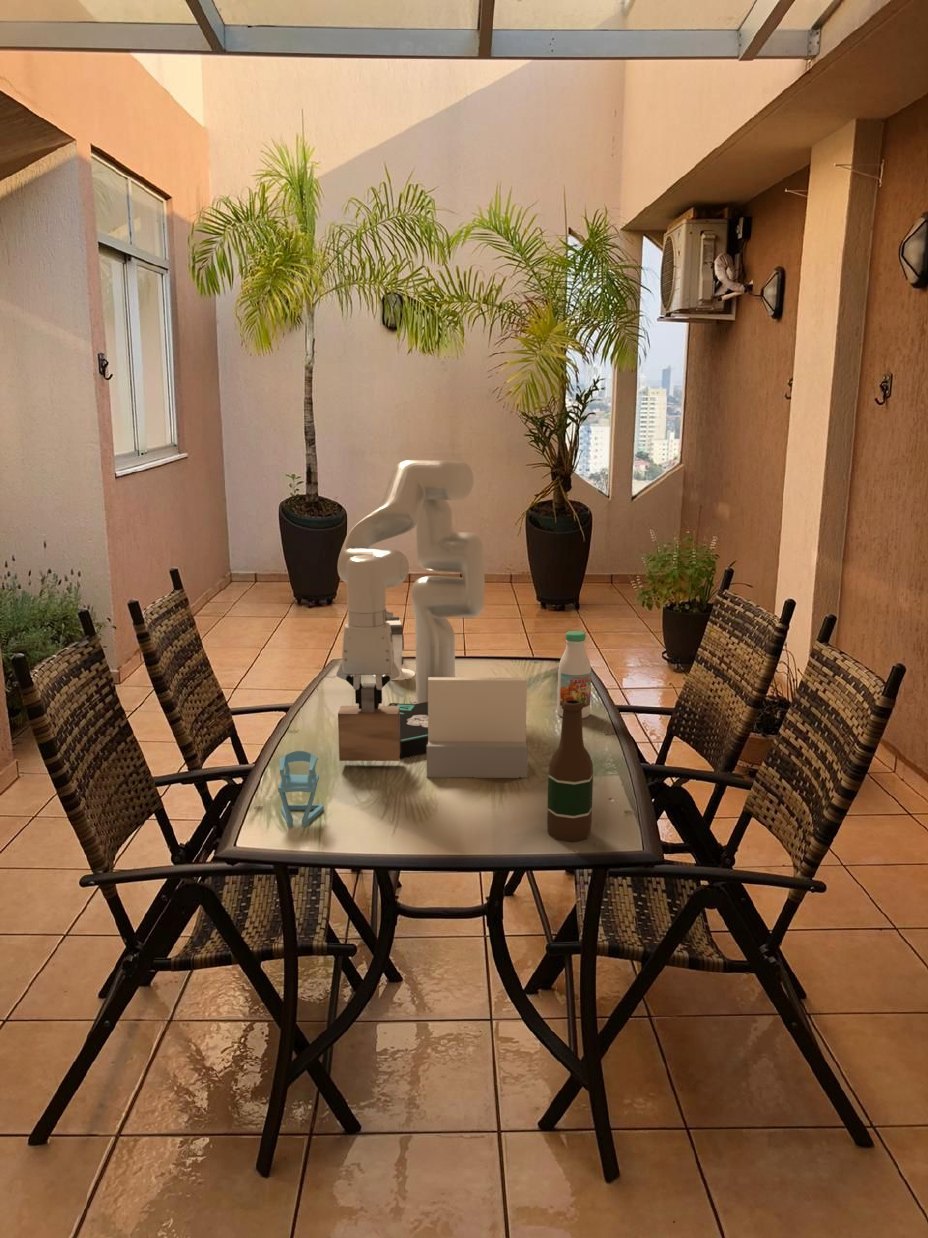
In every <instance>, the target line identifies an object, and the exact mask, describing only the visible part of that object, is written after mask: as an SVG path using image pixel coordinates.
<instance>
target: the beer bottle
mask: <svg viewBox="0 0 928 1238" xmlns="http://www.w3.org/2000/svg"><path fill="white" fill-rule="evenodd" d="M561 708H562V709H563V717H562V718H561V732H560V733H561V734H560V740H559V745H558V748H557V749H556V750H555V751H554V753H553V755H552V757H551V760H550V761H549V765H548V774H547V775H548V776H547V812H546V813H547V814H546V815H547V818H546V819H547V821H546V824H547V833H548V834H549V836H551V837H553V839H555V840H557V841H563V842H570V843H576V842H579V841H584V840H587V838H588V837H589V835H590V833H591V831H592V822H593V821H592V819H593V816H592V815H593V791H594V790H593V789H594V785H593V784H594V767H593V764H594V763H593V761H592V757H591V754H590V753H589V752H588V750H587V749H586V747H585V743H584V739H583V738H584V736H583V735H584V734H583V718H582V709H583V703H582V702H580V701H578V700H573V699H571V700H565V701H564V702H563V704H562V707H561Z"/></svg>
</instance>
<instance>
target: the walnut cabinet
mask: <svg viewBox="0 0 928 1238" xmlns="http://www.w3.org/2000/svg"><path fill="white" fill-rule="evenodd" d="M375 685H376V682H370V683H369V682H368V683H367V682H363V683H362V688H361V698H362V709H359V705H340V707H339V710H338V712H337V722H338V723H337V726H338V727H337V729H338V730H337V731H338V759H339V762H346V761H349V762H356V761H357V762H390V761H391V762H399V761H400V758H399V757H400V706H388V705H379V707H378V709H375V708H374V689H375Z"/></svg>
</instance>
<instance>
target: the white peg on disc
mask: <svg viewBox="0 0 928 1238" xmlns="http://www.w3.org/2000/svg"><path fill="white" fill-rule="evenodd" d="M386 623H389V624H390V627H391V632H392V639H393V652H394V662H395V664H396V666H397V668H398V670H399V672H400V675H399V677H397V678H395V679H392V680H399V681H406V680H410V679H412V678H414V677H416V671H414V670H411V669H409V668H403V666H404V656H403V650H405V646H404V645H405V639H404V638H405V637H404V633H403V624H402V623H401V620H400V616H393V619H389V620H387V621H386ZM372 676H374V677H373V678H374V679H376V677H375V675H372ZM384 676H385V675H383V677H384ZM405 679H406V680H405Z"/></svg>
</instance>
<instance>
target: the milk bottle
mask: <svg viewBox="0 0 928 1238" xmlns="http://www.w3.org/2000/svg"><path fill="white" fill-rule="evenodd" d="M586 635H587V634H586V633H585V632H584V631H580V630H570V631H569V630H568V631H567V632H566V633H565V642H566V645H565V649H564V652H563V654H562V656H561V658H560V661H559V663H558V664H559V665H558V671H557V672H558V673H557V701H556V702H557V704H556V705H557V709H556V711H557V712H556V713H557V715H558V716H560V717H562V718H563V709H562V708H561V707H562V704H563V702H564V701H565V700H571V699H573V700H578V701H580V702H582V703H583V709H582V719H585V718H587V717H589V716H590V713H591V692H592V689H591V688H592V686H591V685H592V667H591V661H590V659H589V656H588V654H587V652H586V647H585V643H586Z"/></svg>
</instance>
